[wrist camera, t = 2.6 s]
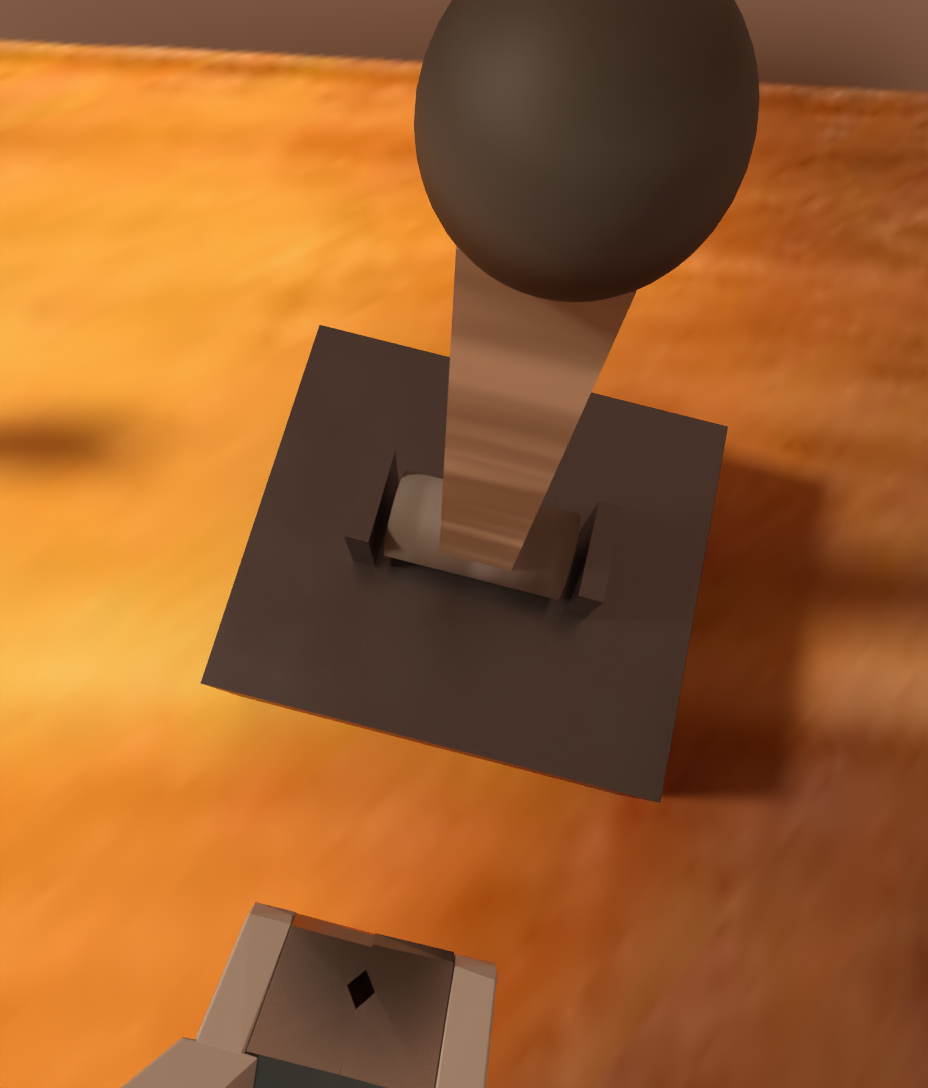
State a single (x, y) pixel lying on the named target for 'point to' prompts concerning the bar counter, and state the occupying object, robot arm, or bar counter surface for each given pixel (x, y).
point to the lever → (557, 239)
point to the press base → (472, 582)
